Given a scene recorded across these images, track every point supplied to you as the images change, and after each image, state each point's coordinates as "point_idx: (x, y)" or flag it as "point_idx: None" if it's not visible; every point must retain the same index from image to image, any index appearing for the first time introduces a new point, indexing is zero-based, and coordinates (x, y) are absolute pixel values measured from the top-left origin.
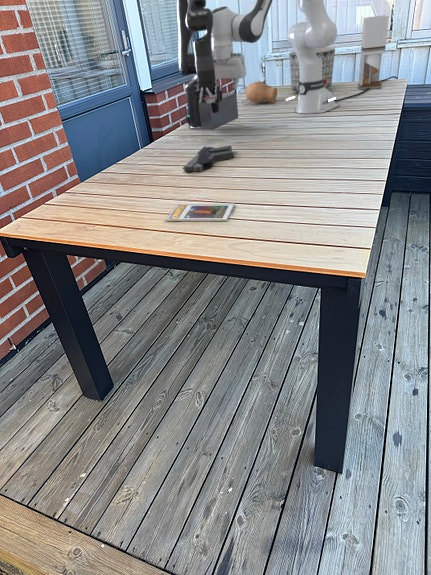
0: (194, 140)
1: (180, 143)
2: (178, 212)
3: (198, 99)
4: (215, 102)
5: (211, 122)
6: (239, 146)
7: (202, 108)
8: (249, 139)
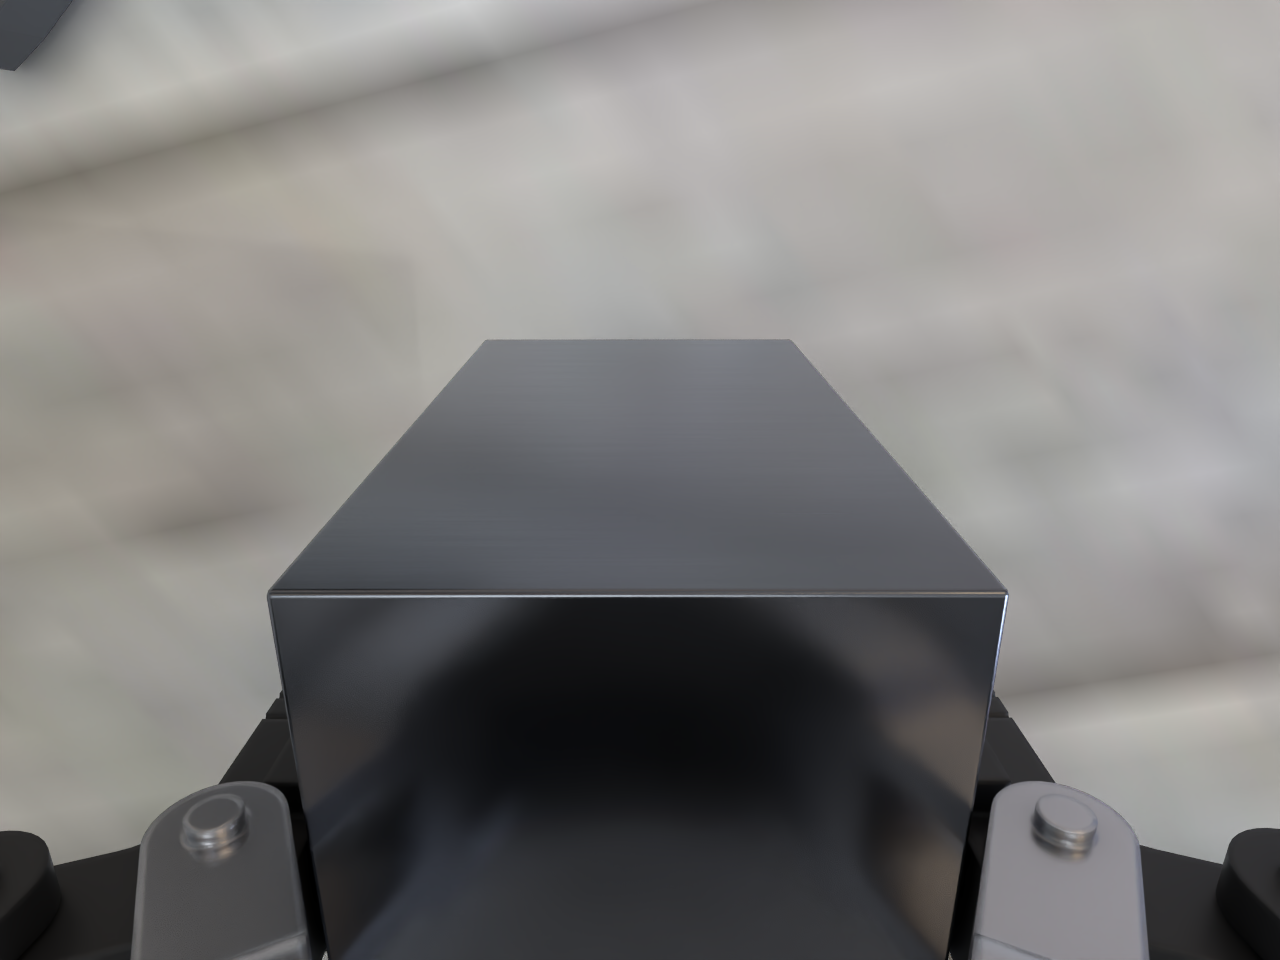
0: (1049, 464)
1: (1229, 265)
2: None
3: (1228, 951)
4: (161, 814)
5: (465, 375)
6: (99, 353)
7: (740, 496)
8: (207, 670)
